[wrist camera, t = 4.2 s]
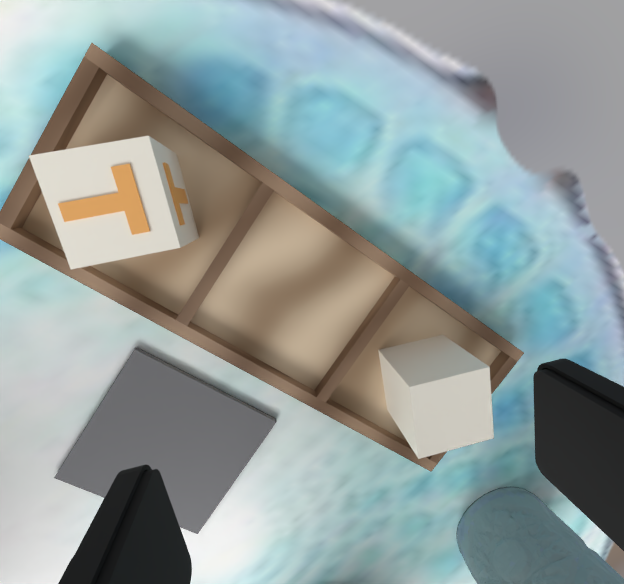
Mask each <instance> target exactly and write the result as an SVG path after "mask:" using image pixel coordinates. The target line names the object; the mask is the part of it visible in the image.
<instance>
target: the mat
mask: <svg viewBox="0 0 624 584" xmlns="http://www.w3.org/2000/svg"><path fill="white" fill-rule="evenodd" d="M275 423H276V418H274V417H272V416H270V415H268V414H266V413H264V412H262V411H260V410H258V409H256V408H254V407H252V406H250V405H248V404H246V403H244V402H242V401H241V400H239V399H237V398H235V397H233V396H231V395H229V394H227V393H225V392H223V391H221V390H219V389H217V388H215V387H213V386H211V385H209V384H207V383H205V382H204V381H202V380H200V379H198V378H196V377H194V376H192V375H190V374H188V373H186V372H184V371H182V370H180V369H178V368H176V367H174V366H172V365H170V364H168V363H166V362H165V361H163V360H161V359H159V358H157V357H155V356H153V355H151V354H149V353H147V352H145V351H143V350H141V349H139V348H137V347H136V348H135V350H134V351H133V353H132V354H131V356H130V358H129V359H128V361H127V362H126V364H125V366H124V367H123V369H122V370H121V372H120V374H119V375H118V377H117V378H116V380H115V382H114V383H113V385H112V386H111V388H110V390H109V391H108V393H107V394H106V396H105V398H104V399H103V401H102V402H101V404H100V405H99V407H98V409H97V410H96V412H95V413H94V415H93V417H92V418H91V420H90V421H89V423H88V425H87V426H86V428H85V429H84V431H83V433H82V434H81V436H80V437H79V439H78V441H77V442H76V444H75V445H74V447H73V449H72V450H71V452H70V453H69V455H68V457H67V458H66V460H65V461H64V463H63V465H62V466H61V468H60V469H59V471H58V473H57V474H56V476H55V477H54V478H56V479H58V480H61V481H63V482H66V483H68V484H71V485H74V486H76V487H79V488H81V489H84V490H86V491H89V492H92V493H94V494H97V495H99V496H102V497H104V498H105V497H106V495H107V493H108V491H109V489H110V487H111V485H112V483H113V481H114V479H115V478H116V476H117V474H118V473H119V472H120V471H122V470H126V469H130V468H134V467H138V466H141V465H145V464H147V465H149V466H150V467H151V469H152V470H153V469H158V470H159V471H160V473H161V476H162V479H163V482H164V485H165V487H166V490H167V493H168V496H169V499H170V501H171V504H172V507H173V510H174V513H175V515H176V518H177V521H178V524H179V527H181V528H184V529H186V530H189V531H191V532H194V533H196V534H198V533H199V531H200V530H201V528H202V527H203V526H204V524H205V523H206V521H207V520H208V518H209V517H210V516H211V514H212V513H213V511H214V510H215V509H216V507H217V506H218V504H219V503H220V501H221V500H222V499H223V497H224V496H225V494H226V493H227V491H228V490H229V489H230V487H231V486H232V484H233V483H234V481H235V480H236V479H237V477H238V476H239V474H240V473H241V472H242V470H243V469H244V467H245V466H246V464H247V463H248V462H249V460H250V459H251V457H252V456H253V454H254V453H255V452H256V450H257V449H258V447H259V446H260V444H261V443H262V442H263V440H264V439H265V437H266V436H267V435H268V433H269V432H270V430H271V429H272V427H273V426H274V425H275Z"/></svg>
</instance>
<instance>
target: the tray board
mask: <svg viewBox="0 0 624 584" xmlns="http://www.w3.org/2000/svg"><path fill="white" fill-rule="evenodd" d="M143 136H150V137H151V138H153V139H155V140H156V141H158V142H159V143H161V144H162V145H164V146H165V147H167V148H168V149H170V150H172V151H173V152H175V153H176V154H177V157H178V161H179V165H180V168H181V172H182V176H183V180H184V183H185V187H186V191H187V195H188V198H189V202H190V206H191V210H192V213H193V217H194V221H195V225H196V228H197V232H198V236H199V238H198V239H196V240H194V241H192V242H190V243H189V244H187V245H185V246H183V247H181V248H177V249H172V250H167V251H162V252H157V253H152V254H147V255H142V256H136V257H131V258H126V259H121V260H116V261H111V262H106V263H101V264H96V265H91V266H86V267H81V268H76V269H70V266H69V264H68V261H67V258H66V255H65V253H64V250H63V247H62V245H61V242H60V239H59V237H58V234H57V231H56V228H55V226H54V223H53V220H52V218H51V215H50V212H49V209H48V207H47V204H46V201H45V199H44V196H43V193H42V190H41V188H40V185H39V182H38V180H37V177H36V174H35V172H34V169H33V166H32V163H31V161H30V158H29V159H28V161H27V163H26V165H25V167H24V168H23V170H22V172H21V174H20V176H19V178H18V180H17V181H16V183H15V185H14V187H13V189H12V191H11V192H10V194H9V196H8V198H7V200H6V202H5V203H4V205H3V207H2V209H1V211H0V239H1V240H2V241H4V242H6V243H8V244H10V245H12V246H14V247H15V248H17V249H19V250H21V251H23V252H25V253H27V254H28V255H30V256H32V257H34V258H36V259H38V260H40V261H41V262H43V263H45V264H47V265H49V266H51V267H53V268H54V269H56V270H58V271H60V272H62V273H64V274H66V275H67V276H69V277H71V278H73V279H75V280H77V281H78V282H80V283H82V284H84V285H86V286H88V287H90V288H91V289H93V290H95V291H97V292H99V293H101V294H103V295H104V296H106V297H108V298H110V299H112V300H114V301H116V302H117V303H119V304H121V305H123V306H125V307H127V308H129V309H130V310H132V311H134V312H136V313H138V314H140V315H142V316H143V317H145V318H147V319H149V320H151V321H153V322H155V323H156V324H158V325H160V326H162V327H164V328H166V329H168V330H169V331H171V332H173V333H175V334H177V335H179V336H181V337H182V338H184V339H186V340H188V341H190V342H192V343H194V344H195V345H197V346H199V347H201V348H203V349H205V350H206V351H208V352H210V353H212V354H214V355H216V356H218V357H219V358H221V359H223V360H225V361H227V362H229V363H231V364H232V365H234V366H236V367H238V368H240V369H242V370H244V371H245V372H247V373H249V374H251V375H253V376H255V377H257V378H258V379H260V380H262V381H264V382H266V383H268V384H270V385H271V386H273V387H275V388H277V389H279V390H281V391H283V392H284V393H286V394H288V395H290V396H292V397H294V398H296V399H297V400H299V401H301V402H303V403H305V404H307V405H309V406H310V407H312V408H314V409H316V410H318V411H320V412H321V413H323V414H325V415H327V416H329V417H331V418H333V419H334V420H336V421H338V422H340V423H342V424H344V425H346V426H347V427H349V428H351V429H353V430H355V431H357V432H359V433H360V434H362V435H364V436H366V437H368V438H370V439H372V440H373V441H375V442H377V443H379V444H381V445H383V446H385V447H386V448H388V449H390V450H392V451H394V452H396V453H398V454H399V455H401V456H403V457H405V458H407V459H409V460H411V461H412V462H414V463H416V464H418V465H420V466H422V467H424V468H425V469H427V470H429V471H432V470H433V469H434V467H435V466H436V465H437V464H438V462H439V461H440V460H441V458H442V457H443V456H444V455H445V453H446V452H447V451H446V452H442V453H439V454H435V455H431V456H428V457H424V458H420V459H418V457H417V456H416V454H415V453H414V451H413V450H412V448H411V446H410V445H409V443H408V442H407V440H406V438H405V437H404V435H403V434H402V432H401V431H400V429H399V427H398V426H397V424H396V423H395V421H394V420H393V418H392V416H391V415H390V413H389V412H388V410H387V406H386V399H385V392H384V385H383V378H382V372H381V365H380V358H379V351H378V350H380V349H384V348H389V347H393V346H397V345H401V344H405V343H410V342H414V341H418V340H422V339H426V338H430V337H435V336H439V335H444V336H446V337H447V338H449V339H450V340H451V341H453V342H454V343H456V344H457V345H459V346H460V347H462V348H463V349H464V350H466V351H467V352H469V353H470V354H472V355H473V356H475V357H476V358H477V359H479V360H480V361H482V362H483V363H485V364H486V365H488V366H489V367H490V382H491V394H492V393H493V392H494V391H495V389H496V388H497V387H498V386H499V384H500V383H501V382H502V380H503V379H504V378H505V377H506V375H507V374H508V373H509V371H510V370H511V369H512V368H513V366H514V365H515V364H516V363H517V361H518V360H519V359H520V357H521V356H522V355H523V354H524V353H523V352H522V351H521V350H519V349H518V348H517V347H515V346H514V345H512V344H511V343H510V342H508V341H507V340H505V339H504V338H503V337H501V336H500V335H498V334H497V333H496V332H494V331H493V330H491V329H490V328H489V327H487V326H486V325H484V324H483V323H482V322H480V321H479V320H478V319H476V318H475V317H473V316H472V315H471V314H469V313H468V312H466V311H465V310H464V309H462V308H461V307H459V306H458V305H457V304H455V303H454V302H452V301H451V300H450V299H448V298H447V297H445V296H444V295H443V294H441V293H440V292H439V291H437V290H436V289H434V288H433V287H432V286H430V285H429V284H427V283H426V282H425V281H423V280H422V279H420V278H419V277H418V276H416V275H415V274H413V273H412V272H411V271H409V270H408V269H406V268H405V267H404V266H402V265H401V264H400V263H398V262H397V261H395V260H394V259H393V258H391V257H390V256H388V255H387V254H386V253H384V252H383V251H381V250H380V249H379V248H377V247H376V246H374V245H373V244H372V243H370V242H369V241H367V240H366V239H365V238H363V237H362V236H361V235H359V234H358V233H356V232H355V231H354V230H352V229H351V228H349V227H348V226H347V225H345V224H344V223H342V222H341V221H340V220H338V219H337V218H335V217H334V216H333V215H331V214H330V213H328V212H327V211H326V210H324V209H323V208H322V207H320V206H319V205H317V204H316V203H315V202H313V201H312V200H310V199H309V198H308V197H306V196H305V195H303V194H302V193H301V192H299V191H298V190H296V189H295V188H294V187H292V186H291V185H289V184H288V183H287V182H285V181H284V180H283V179H281V178H280V177H278V176H277V175H276V174H274V173H273V172H271V171H270V170H269V169H267V168H266V167H264V166H263V165H262V164H260V163H259V162H257V161H256V160H255V159H253V158H252V157H250V156H249V155H248V154H246V153H245V152H244V151H242V150H241V149H239V148H238V147H237V146H235V145H234V144H232V143H231V142H230V141H228V140H227V139H225V138H224V137H223V136H221V135H220V134H218V133H217V132H216V131H214V130H213V129H211V128H210V127H209V126H207V125H206V124H205V123H203V122H202V121H200V120H199V119H198V118H196V117H195V116H193V115H192V114H191V113H189V112H188V111H186V110H185V109H184V108H182V107H181V106H179V105H178V104H177V103H175V102H174V101H172V100H171V99H170V98H168V97H167V96H166V95H164V94H163V93H161V92H160V91H159V90H157V89H156V88H154V87H153V86H152V85H150V84H149V83H147V82H146V81H145V80H143V79H142V78H140V77H139V76H138V75H136V74H135V73H133V72H132V71H131V70H129V69H128V68H127V67H125V66H124V65H122V64H121V63H120V62H118V61H117V60H115V59H114V58H113V57H111V56H110V55H108V54H107V53H106V52H104V51H103V50H101V49H100V48H99V47H97V46H96V45H94V44H93V43H91V45H90V47H89V49H88V50H87V52H86V54H85V56H84V58H83V60H82V62H81V63H80V65H79V67H78V69H77V71H76V73H75V74H74V76H73V78H72V80H71V82H70V84H69V85H68V87H67V89H66V91H65V93H64V95H63V97H62V98H61V100H60V102H59V104H58V106H57V108H56V109H55V111H54V113H53V115H52V117H51V119H50V121H49V122H48V124H47V126H46V128H45V130H44V132H43V133H42V135H41V137H40V139H39V141H38V143H37V144H36V146H35V148H34V150H33V152H32V154H31V155H35V154H41V153H47V152H53V151H59V150H65V149H71V148H77V147H83V146H89V145H95V144H101V143H107V142H113V141H119V140H125V139H131V138H137V137H143Z"/></svg>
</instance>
